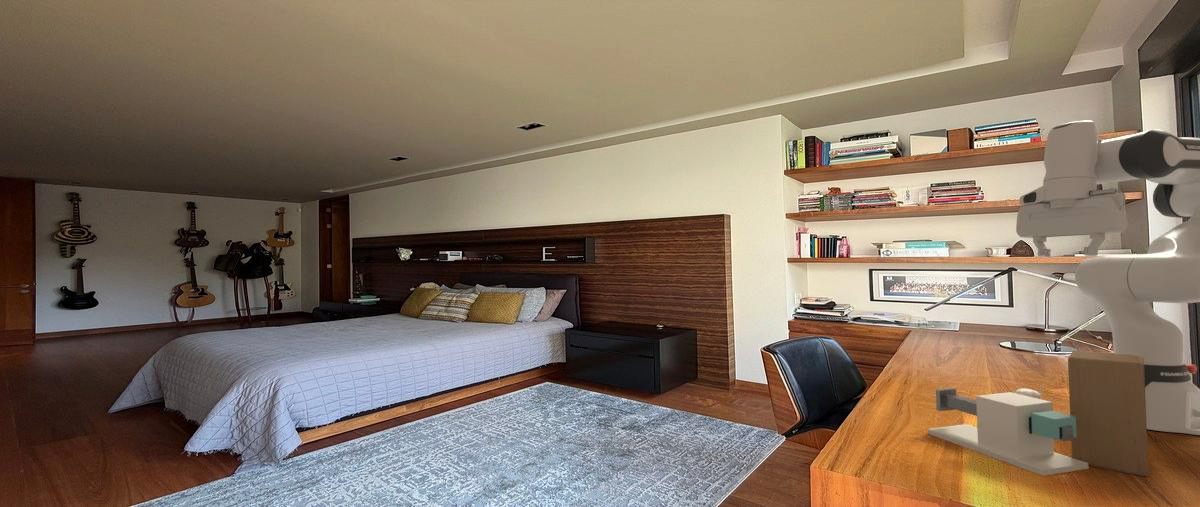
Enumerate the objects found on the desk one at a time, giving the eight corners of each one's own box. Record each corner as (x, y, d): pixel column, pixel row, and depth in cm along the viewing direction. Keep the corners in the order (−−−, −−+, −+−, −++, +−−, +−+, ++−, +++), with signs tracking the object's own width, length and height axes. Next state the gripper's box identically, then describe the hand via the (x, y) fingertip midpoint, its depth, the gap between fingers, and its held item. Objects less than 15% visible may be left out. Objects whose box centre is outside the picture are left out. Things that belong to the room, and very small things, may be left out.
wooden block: (1147, 461, 97) (1143, 355, 98) (1148, 478, 90) (1144, 363, 91) (1075, 448, 104) (1072, 350, 105) (1071, 462, 98) (1067, 357, 98)
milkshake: (1051, 433, 114) (1049, 387, 114) (1023, 432, 115) (1022, 387, 115) (1038, 426, 118) (1036, 383, 118) (1011, 425, 119) (1010, 382, 119)
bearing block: (966, 428, 118) (964, 380, 118) (1088, 468, 95) (1086, 408, 95) (927, 433, 115) (925, 384, 116) (1043, 475, 92) (1040, 414, 92)
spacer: (1052, 430, 98) (1051, 410, 98) (1076, 437, 94) (1075, 416, 94) (1032, 432, 97) (1031, 413, 97) (1055, 440, 93) (1054, 419, 93)
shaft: (952, 408, 118) (952, 387, 118) (1077, 445, 94) (1076, 419, 94) (936, 410, 117) (935, 389, 117) (1058, 447, 92) (1057, 422, 93)
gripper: (1137, 188, 104) (1134, 256, 104) (1033, 201, 125) (1031, 258, 124) (1112, 185, 103) (1110, 253, 103) (1012, 198, 123) (1009, 256, 123)
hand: (1066, 256), depth 113 cm, fingers open, 8 cm apart
